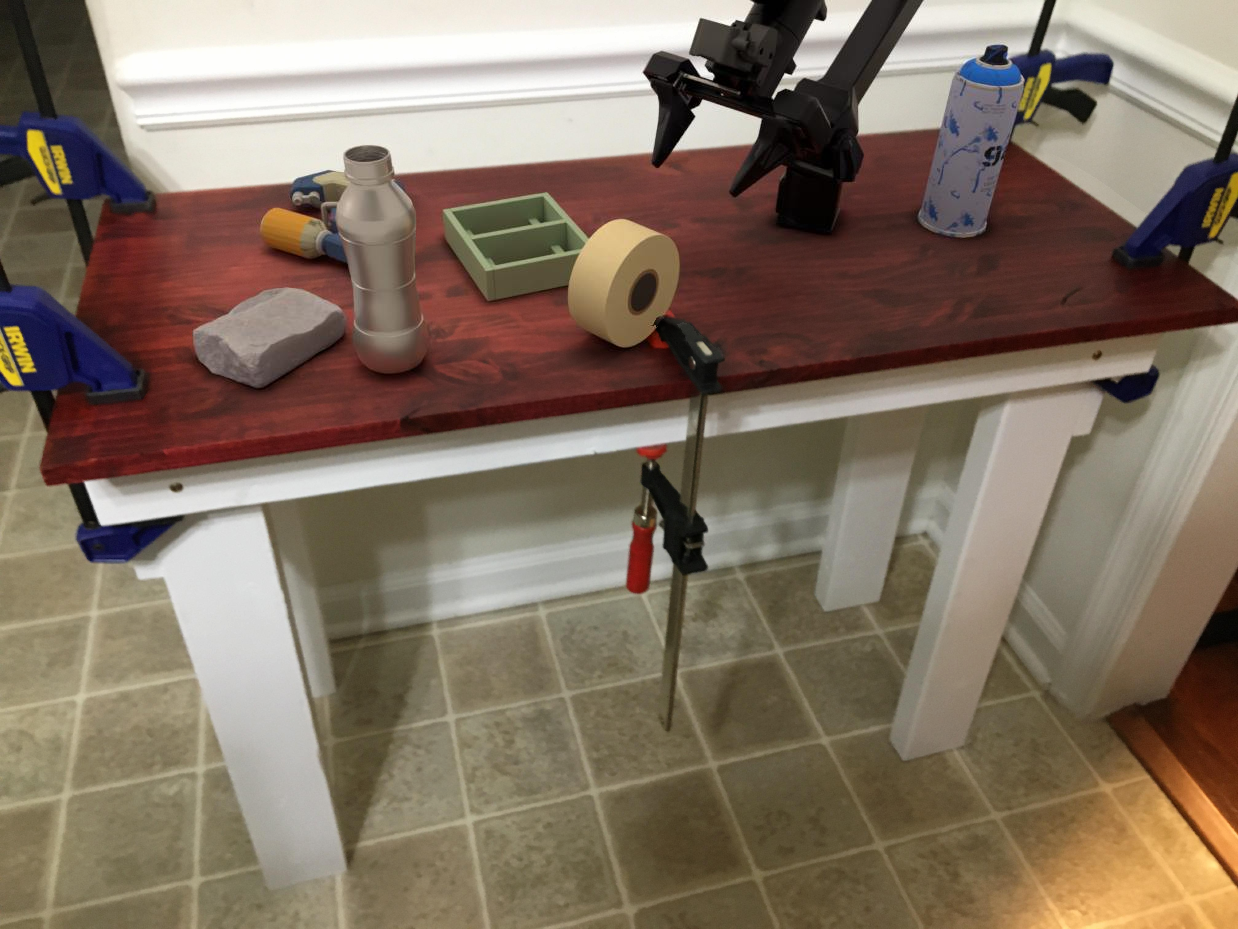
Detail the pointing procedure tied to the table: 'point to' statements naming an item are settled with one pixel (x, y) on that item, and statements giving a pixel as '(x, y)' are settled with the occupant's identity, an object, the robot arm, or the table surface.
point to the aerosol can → (972, 144)
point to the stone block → (268, 335)
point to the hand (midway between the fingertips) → (692, 180)
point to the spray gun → (309, 218)
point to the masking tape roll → (623, 282)
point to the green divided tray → (515, 244)
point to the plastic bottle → (381, 262)
